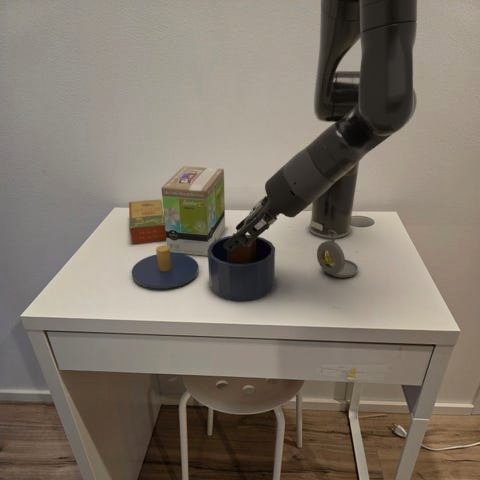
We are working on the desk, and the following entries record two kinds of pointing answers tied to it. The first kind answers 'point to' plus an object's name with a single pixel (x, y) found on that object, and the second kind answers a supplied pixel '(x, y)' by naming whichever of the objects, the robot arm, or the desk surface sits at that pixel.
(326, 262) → the pocket watch
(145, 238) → the carton
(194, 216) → the tea box
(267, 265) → the tin
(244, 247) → the block
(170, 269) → the tin lid
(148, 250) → the desk surface
